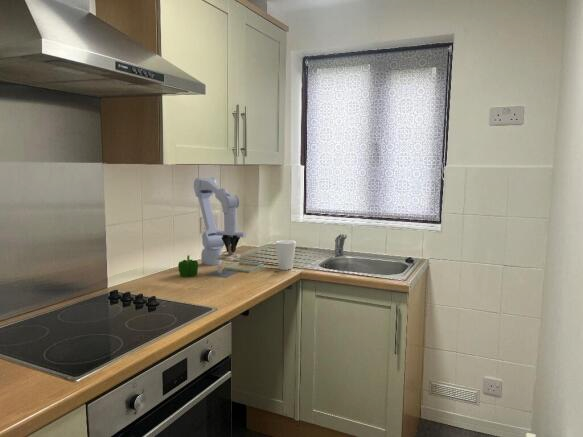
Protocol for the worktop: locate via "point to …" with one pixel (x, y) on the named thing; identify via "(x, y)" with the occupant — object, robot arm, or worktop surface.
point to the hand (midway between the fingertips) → (231, 251)
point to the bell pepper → (188, 268)
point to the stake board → (221, 273)
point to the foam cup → (285, 253)
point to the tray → (244, 264)
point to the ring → (228, 255)
